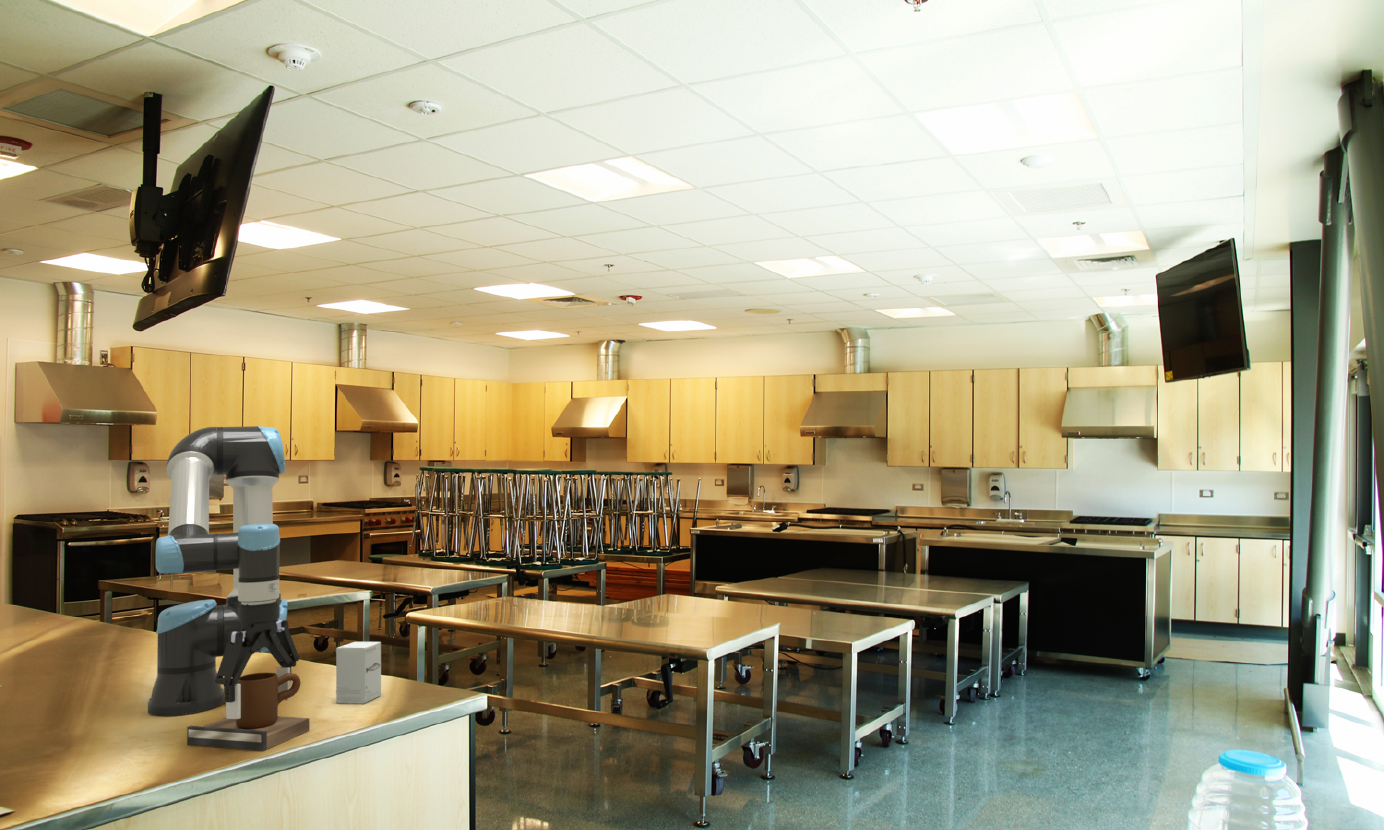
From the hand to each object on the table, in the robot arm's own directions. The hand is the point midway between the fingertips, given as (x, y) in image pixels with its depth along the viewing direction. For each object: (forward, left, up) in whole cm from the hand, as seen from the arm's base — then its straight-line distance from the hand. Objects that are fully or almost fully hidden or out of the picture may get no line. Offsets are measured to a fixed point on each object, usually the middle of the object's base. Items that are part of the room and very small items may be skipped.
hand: (259, 708), depth 179 cm
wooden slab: (-2, 0, -6) cm, 6 cm away
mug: (0, +2, -3) cm, 4 cm away
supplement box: (+2, +29, -6) cm, 30 cm away
